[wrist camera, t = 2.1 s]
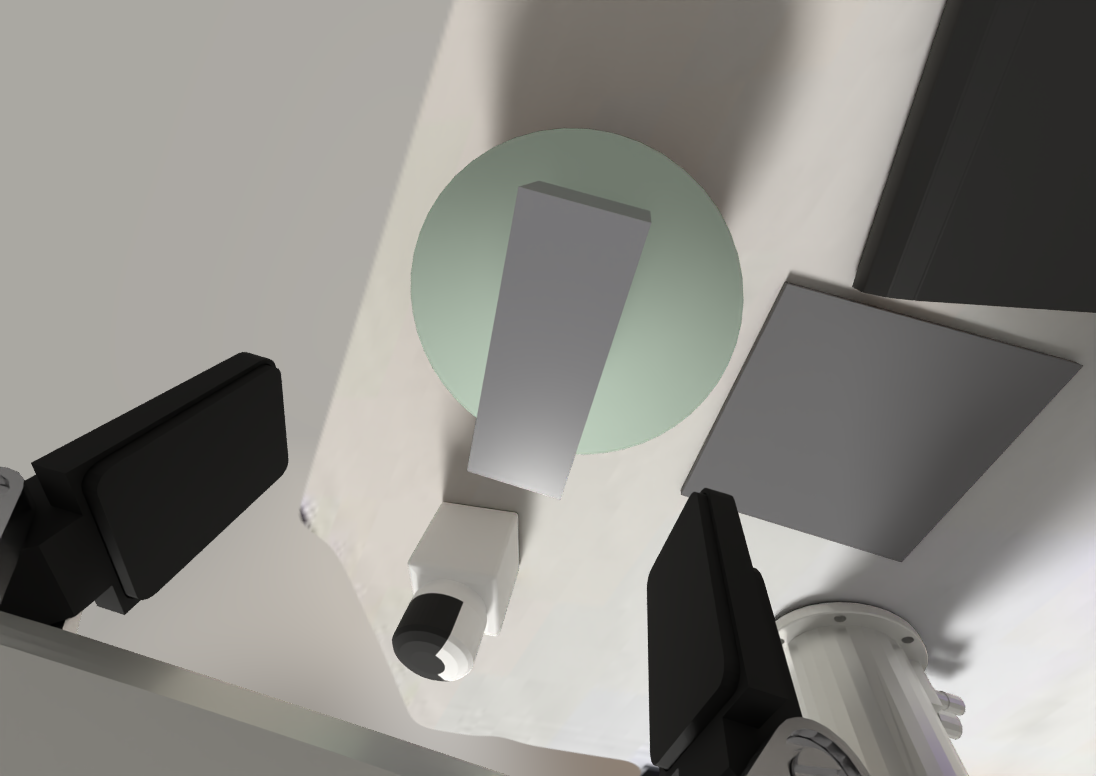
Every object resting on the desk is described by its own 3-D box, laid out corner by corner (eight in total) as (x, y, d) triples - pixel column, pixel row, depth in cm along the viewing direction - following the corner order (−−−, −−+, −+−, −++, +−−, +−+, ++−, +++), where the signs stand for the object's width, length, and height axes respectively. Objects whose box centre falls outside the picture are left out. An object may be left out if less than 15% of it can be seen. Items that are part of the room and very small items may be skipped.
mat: (1075, 362, 26) (1083, 365, 26) (898, 556, 34) (901, 562, 34) (785, 281, 27) (787, 284, 27) (680, 490, 35) (681, 494, 35)
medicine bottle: (448, 556, 44) (387, 682, 33) (441, 499, 41) (371, 620, 30) (520, 568, 43) (480, 702, 32) (519, 511, 40) (474, 640, 29)
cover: (801, 183, 18) (883, 200, 12) (667, 471, 25) (674, 573, 19) (441, 88, 19) (342, 57, 12) (412, 393, 26) (341, 468, 20)
